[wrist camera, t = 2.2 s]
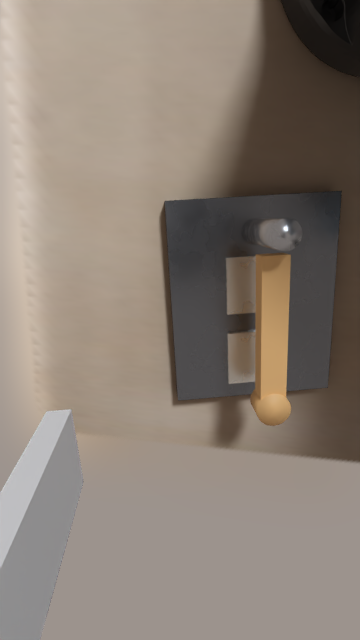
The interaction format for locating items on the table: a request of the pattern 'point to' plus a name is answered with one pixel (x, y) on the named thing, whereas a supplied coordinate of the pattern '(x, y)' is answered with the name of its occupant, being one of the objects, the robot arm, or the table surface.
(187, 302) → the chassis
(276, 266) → the wooden lever handle
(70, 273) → the table surface
